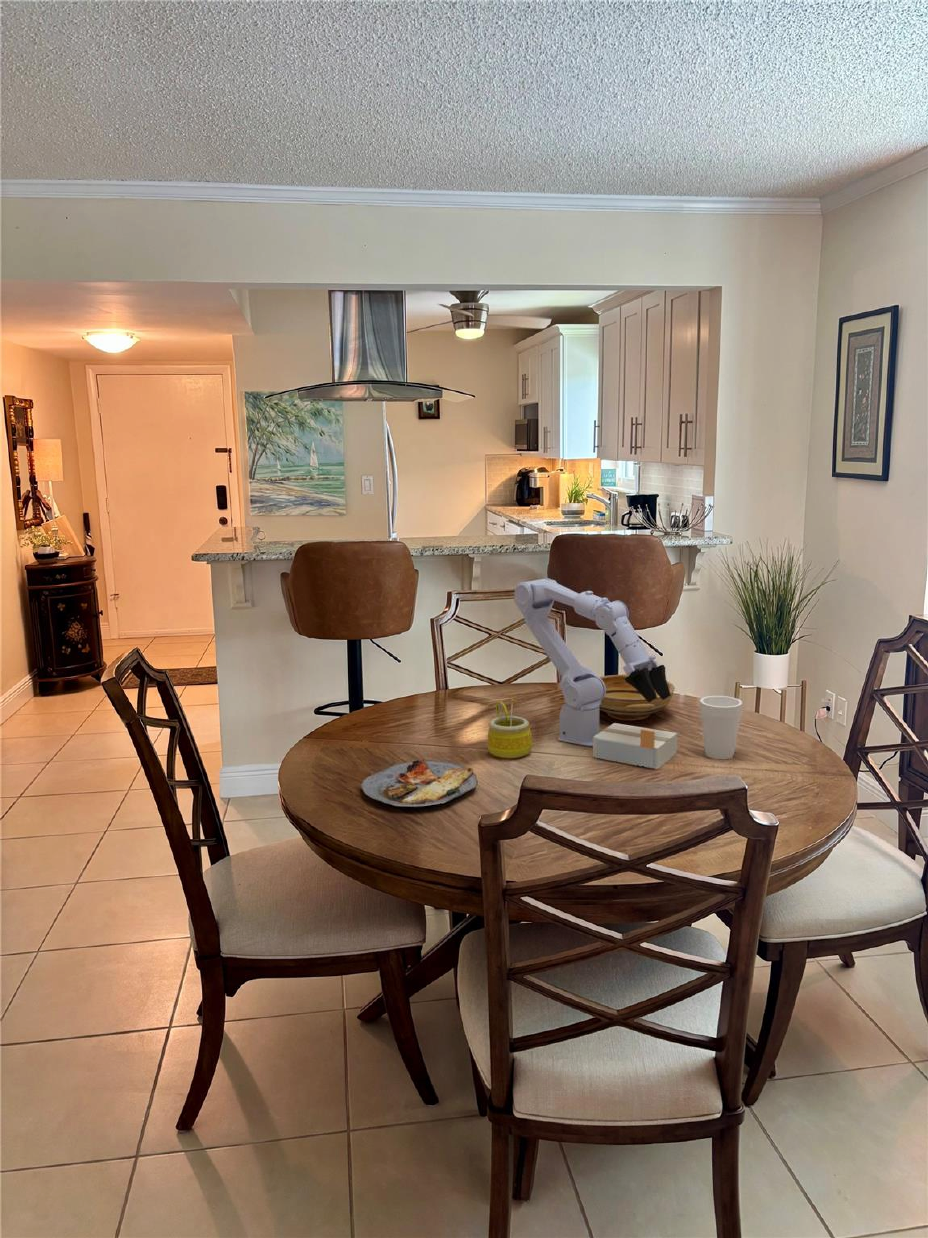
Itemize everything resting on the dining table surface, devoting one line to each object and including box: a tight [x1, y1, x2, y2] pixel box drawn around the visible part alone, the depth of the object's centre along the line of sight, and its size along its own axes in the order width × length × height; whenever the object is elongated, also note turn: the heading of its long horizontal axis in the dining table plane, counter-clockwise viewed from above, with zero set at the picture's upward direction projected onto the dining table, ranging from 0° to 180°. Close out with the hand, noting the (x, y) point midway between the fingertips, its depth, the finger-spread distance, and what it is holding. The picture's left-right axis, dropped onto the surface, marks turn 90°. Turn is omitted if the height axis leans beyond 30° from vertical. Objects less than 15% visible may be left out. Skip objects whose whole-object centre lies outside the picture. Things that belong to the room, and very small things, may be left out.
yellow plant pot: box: [486, 698, 534, 759], centre depth 213 cm, size 13×11×12 cm
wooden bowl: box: [598, 674, 676, 721], centre depth 240 cm, size 30×24×8 cm
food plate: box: [361, 758, 479, 809], centre depth 192 cm, size 25×23×4 cm
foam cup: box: [699, 695, 743, 760], centre depth 207 cm, size 10×9×13 cm
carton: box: [592, 722, 678, 770], centre depth 209 cm, size 16×12×5 cm
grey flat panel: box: [595, 729, 655, 769], centre depth 203 cm, size 14×1×9 cm, turn 56°
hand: (660, 698), depth 201 cm, fingers open, 7 cm apart
